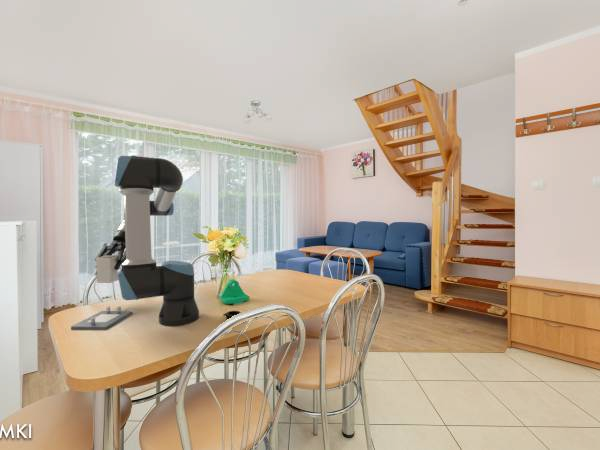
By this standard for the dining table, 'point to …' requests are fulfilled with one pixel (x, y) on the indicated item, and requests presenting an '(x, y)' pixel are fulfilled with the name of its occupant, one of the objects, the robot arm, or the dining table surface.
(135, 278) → the robot arm
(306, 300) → the dining table surface
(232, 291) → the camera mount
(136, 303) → the dining table surface
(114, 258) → the block
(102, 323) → the grey base plate
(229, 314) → the duct tape
